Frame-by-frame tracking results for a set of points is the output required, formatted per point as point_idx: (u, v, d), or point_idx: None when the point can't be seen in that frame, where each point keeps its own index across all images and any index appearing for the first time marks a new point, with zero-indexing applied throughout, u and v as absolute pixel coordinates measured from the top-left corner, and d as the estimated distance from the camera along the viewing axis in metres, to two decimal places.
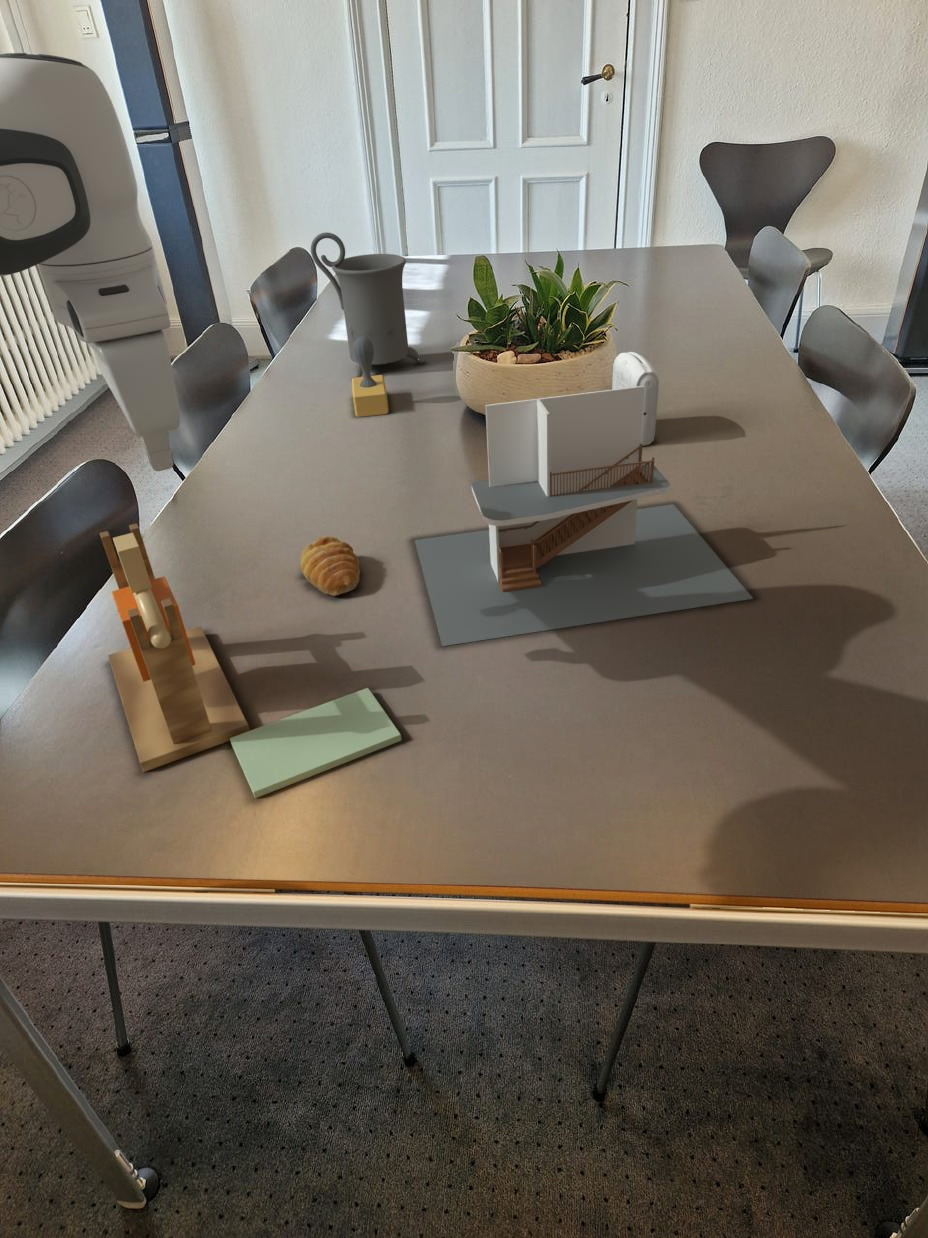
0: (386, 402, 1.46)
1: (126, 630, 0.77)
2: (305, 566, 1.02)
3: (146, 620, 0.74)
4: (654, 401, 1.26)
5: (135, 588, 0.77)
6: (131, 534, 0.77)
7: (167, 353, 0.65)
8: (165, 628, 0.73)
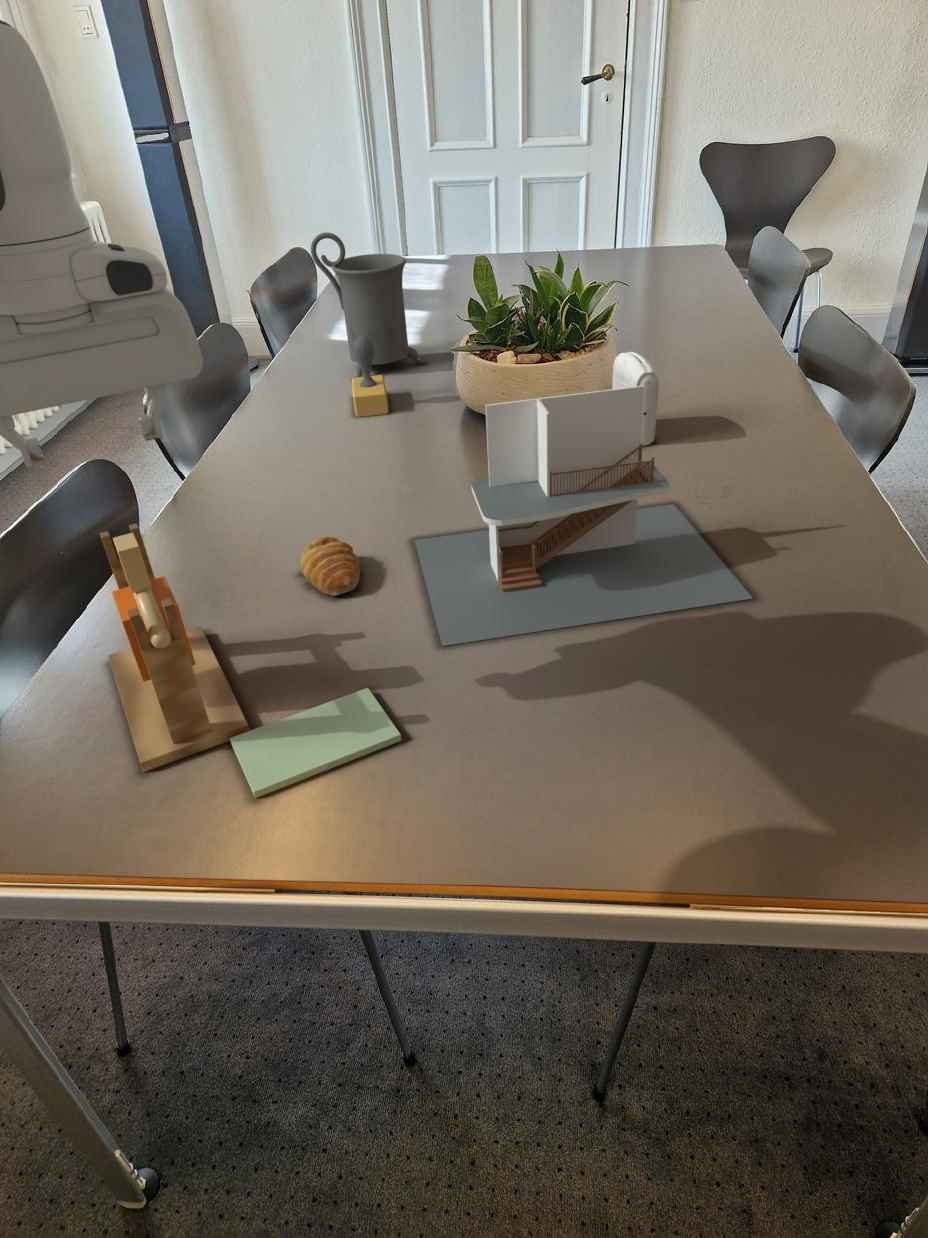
0: (386, 402, 1.46)
1: (126, 630, 0.77)
2: (305, 566, 1.02)
3: (146, 620, 0.74)
4: (654, 401, 1.26)
5: (135, 588, 0.77)
6: (131, 534, 0.77)
7: None
8: (165, 628, 0.73)
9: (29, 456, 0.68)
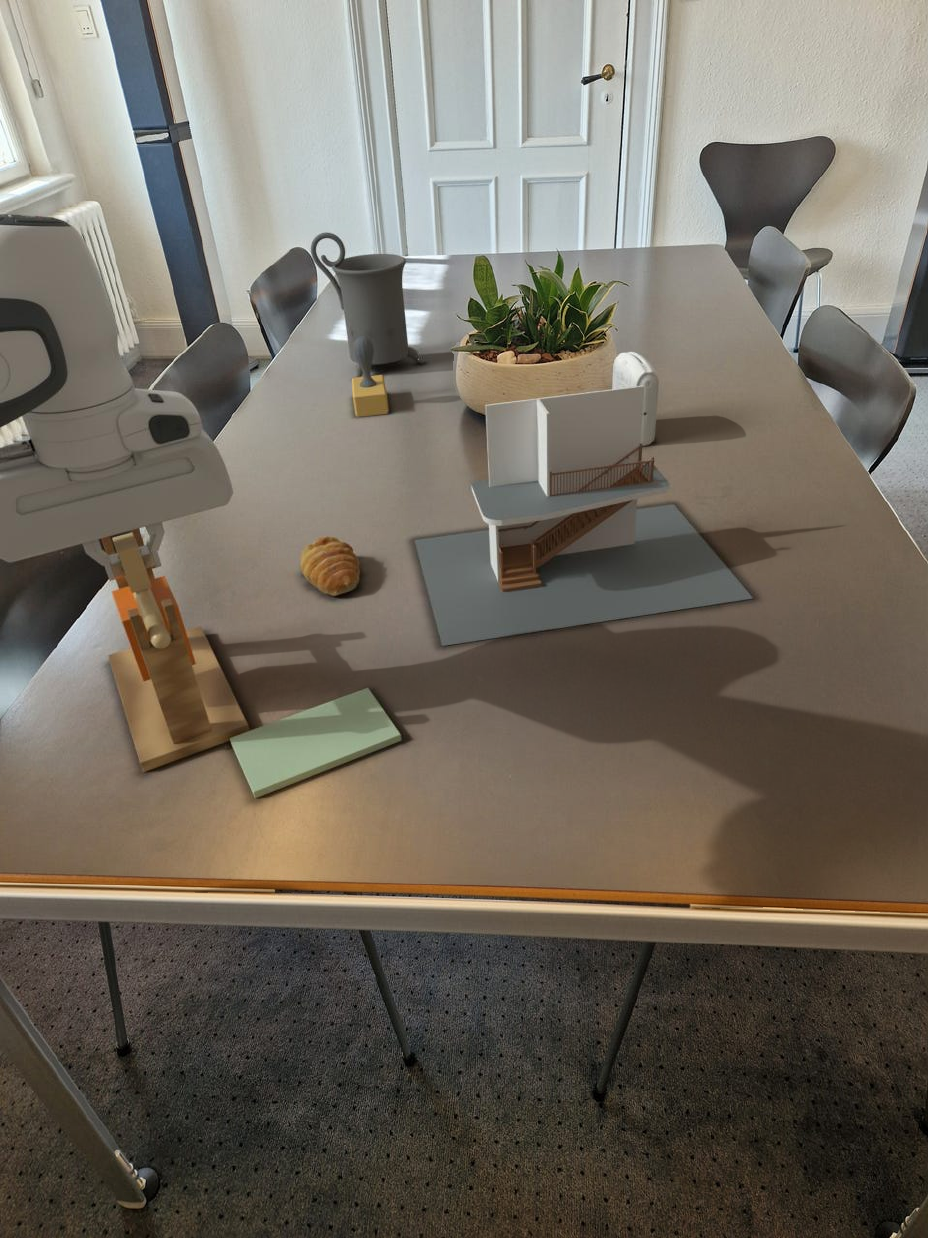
0: (386, 402, 1.46)
1: (126, 630, 0.77)
2: (305, 566, 1.02)
3: (146, 620, 0.74)
4: (654, 401, 1.26)
5: (135, 588, 0.77)
6: (131, 534, 0.77)
7: (202, 429, 0.76)
8: (165, 628, 0.73)
9: (112, 571, 0.76)
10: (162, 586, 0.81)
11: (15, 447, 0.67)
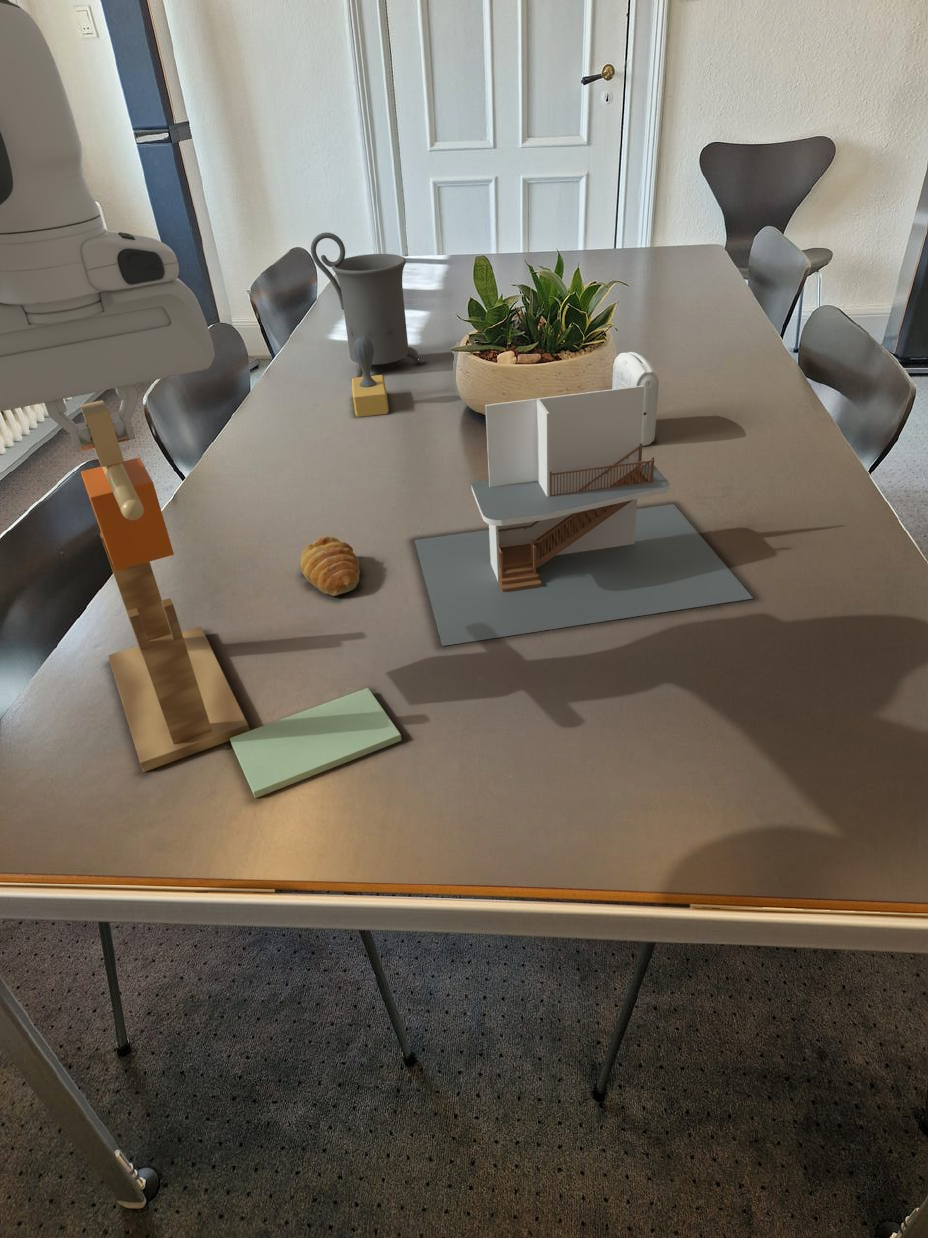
0: (386, 402, 1.46)
1: (95, 508, 0.69)
2: (305, 566, 1.02)
3: (116, 491, 0.66)
4: (654, 401, 1.26)
5: (105, 461, 0.69)
6: (101, 401, 0.69)
7: None
8: (137, 498, 0.65)
9: (79, 440, 0.68)
10: (137, 466, 0.73)
11: None
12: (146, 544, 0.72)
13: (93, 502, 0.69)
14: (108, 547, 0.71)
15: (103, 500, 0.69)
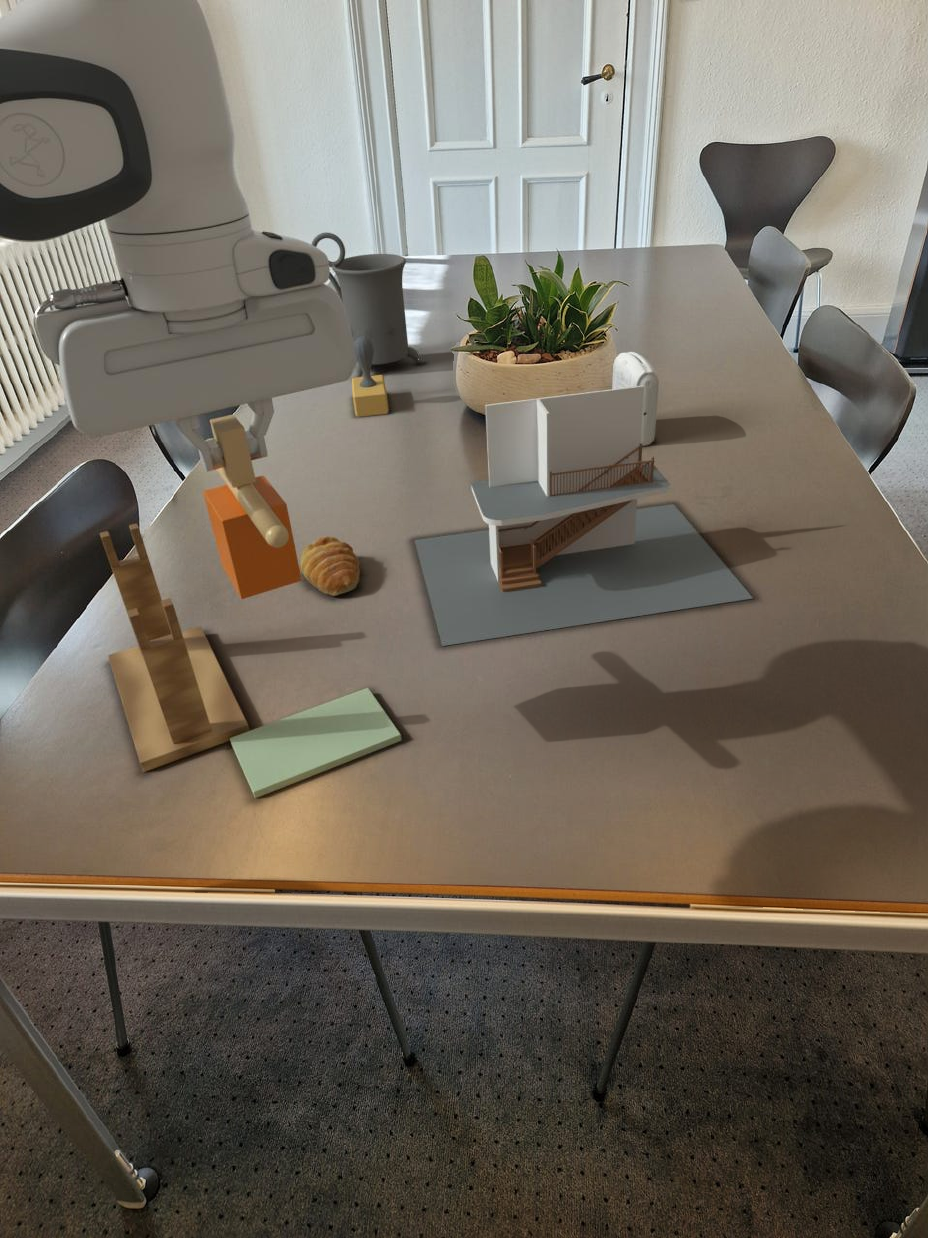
0: (386, 402, 1.46)
1: (226, 532, 0.63)
2: (305, 566, 1.02)
3: (256, 515, 0.60)
4: (654, 401, 1.26)
5: (237, 481, 0.63)
6: (232, 416, 0.63)
7: None
8: (281, 523, 0.59)
9: (211, 459, 0.62)
10: (263, 485, 0.67)
11: (104, 287, 0.54)
12: (274, 570, 0.67)
13: (224, 526, 0.63)
14: (236, 574, 0.65)
15: (235, 524, 0.63)
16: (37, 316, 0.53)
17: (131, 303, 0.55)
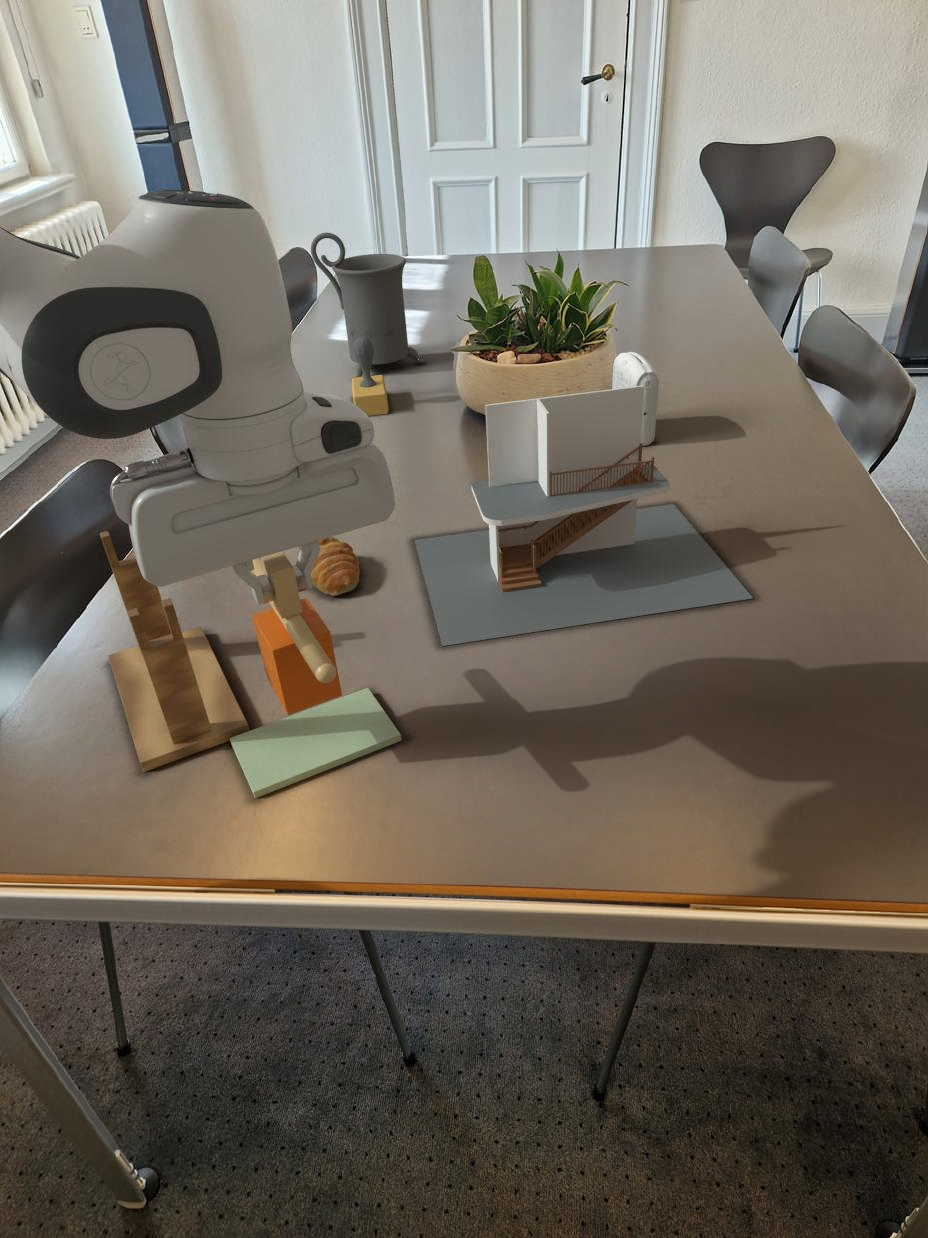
0: (386, 402, 1.46)
1: (275, 660, 0.69)
2: None
3: (305, 650, 0.66)
4: (654, 401, 1.26)
5: (285, 613, 0.69)
6: (281, 553, 0.69)
7: None
8: (329, 660, 0.65)
9: (262, 595, 0.68)
10: (307, 610, 0.73)
11: (173, 458, 0.60)
12: (318, 688, 0.72)
13: (274, 655, 0.69)
14: (283, 694, 0.71)
15: (284, 652, 0.69)
16: (113, 486, 0.59)
17: (196, 470, 0.61)
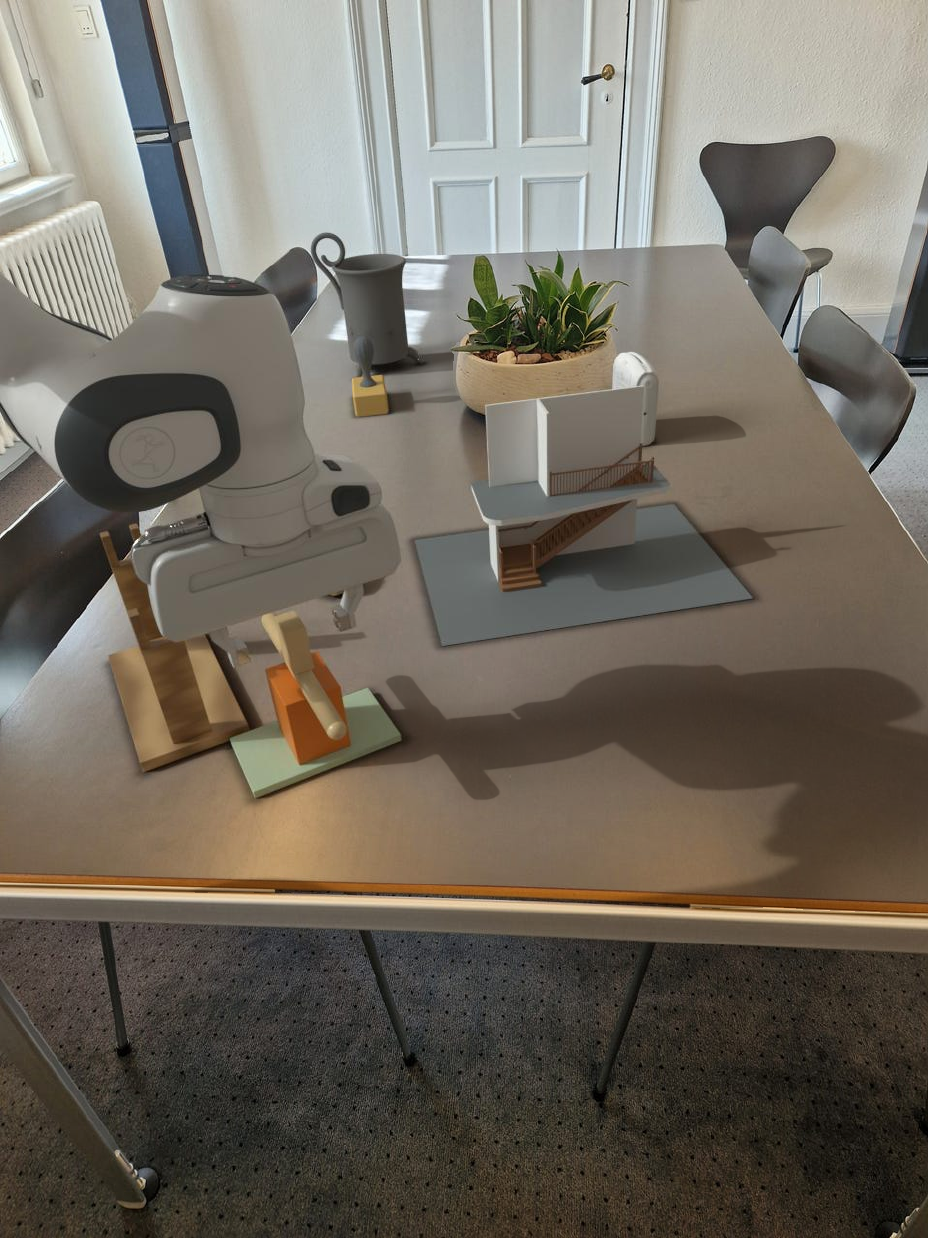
0: (386, 402, 1.46)
1: (288, 714, 0.72)
2: None
3: (317, 708, 0.69)
4: (654, 401, 1.26)
5: (298, 670, 0.72)
6: (293, 612, 0.72)
7: None
8: (340, 717, 0.68)
9: (237, 658, 0.70)
10: (318, 664, 0.76)
11: (190, 522, 0.63)
12: (328, 739, 0.76)
13: (287, 710, 0.72)
14: (295, 746, 0.74)
15: (296, 707, 0.72)
16: (134, 550, 0.62)
17: (212, 533, 0.63)
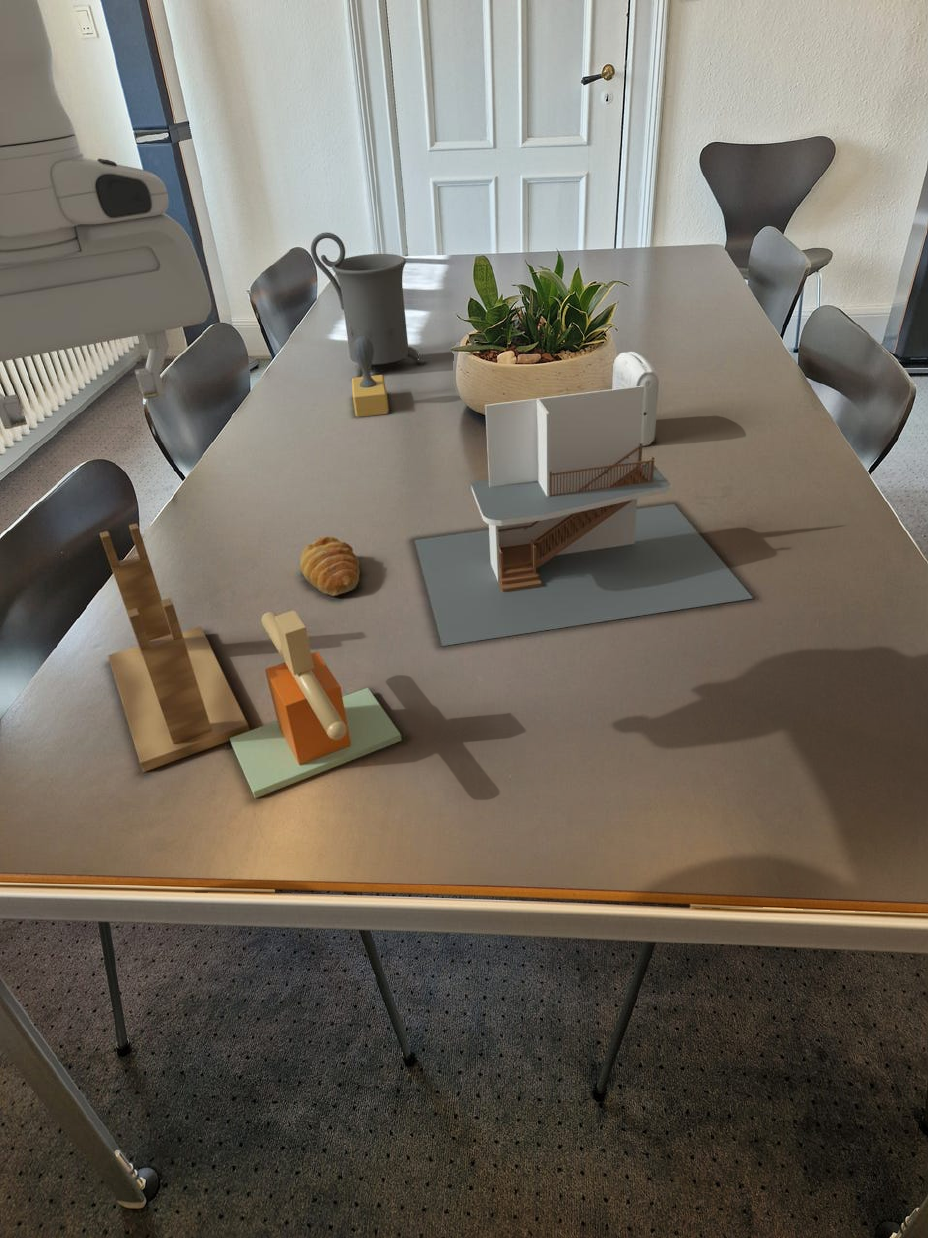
0: (386, 402, 1.46)
1: (288, 714, 0.72)
2: (305, 566, 1.02)
3: (317, 708, 0.69)
4: (654, 401, 1.26)
5: (298, 670, 0.72)
6: (293, 612, 0.72)
7: None
8: (340, 717, 0.68)
9: (7, 415, 0.57)
10: (318, 664, 0.76)
11: None
12: (328, 739, 0.76)
13: (287, 710, 0.72)
14: (295, 746, 0.74)
15: (296, 707, 0.72)
16: None
17: None
